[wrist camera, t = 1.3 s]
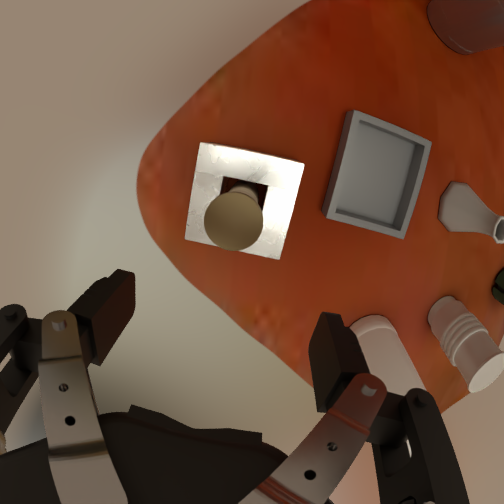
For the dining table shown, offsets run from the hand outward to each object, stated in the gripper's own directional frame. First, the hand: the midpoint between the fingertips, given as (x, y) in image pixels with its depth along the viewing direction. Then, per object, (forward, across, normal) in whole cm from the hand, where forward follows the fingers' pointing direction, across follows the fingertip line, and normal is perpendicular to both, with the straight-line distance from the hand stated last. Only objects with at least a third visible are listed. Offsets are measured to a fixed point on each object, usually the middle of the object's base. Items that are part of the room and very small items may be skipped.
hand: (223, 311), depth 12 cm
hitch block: (+22, +1, -1) cm, 22 cm away
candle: (+22, -33, +10) cm, 41 cm away
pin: (+22, +1, -1) cm, 22 cm away
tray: (+22, -13, -6) cm, 27 cm away
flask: (+22, -27, -6) cm, 36 cm away
